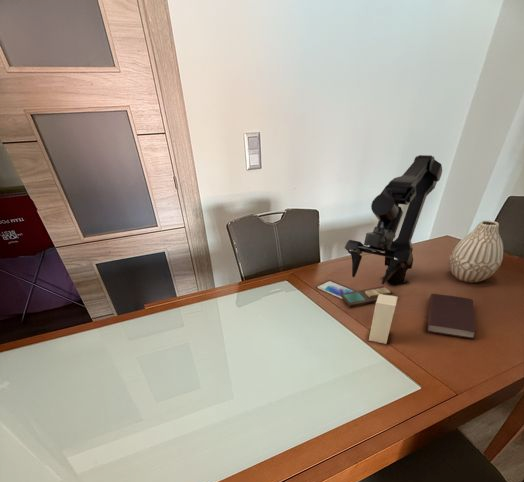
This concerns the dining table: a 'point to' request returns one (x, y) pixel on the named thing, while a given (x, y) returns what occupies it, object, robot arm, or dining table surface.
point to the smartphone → (334, 288)
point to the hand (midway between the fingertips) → (367, 280)
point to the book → (451, 316)
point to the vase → (478, 253)
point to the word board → (364, 296)
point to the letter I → (382, 318)
